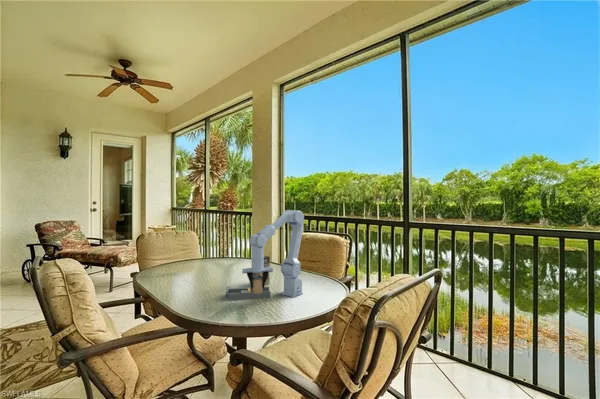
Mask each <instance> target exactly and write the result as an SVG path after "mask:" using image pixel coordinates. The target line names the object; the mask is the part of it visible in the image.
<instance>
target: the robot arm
mask: <svg viewBox="0 0 600 399" xmlns="http://www.w3.org/2000/svg"><path fill="white" fill-rule="evenodd" d="M304 219H305V215H304V214H303V212H302V211H301V210H293V209H292V210H291V209H286V210H285V211H283V212H282V213H281V215H280V216H279V217H278V218H277V219H275V221H273V223H272V224H266V225H264V226H263V228H262V229H260V230H259V231H257V233H255V234H252V235H251V236H250V237H249V240H248V241H249V242H248V243H249V244H250V248H251V267H250V268H249V267H248V268H242V269H241V274H242V275H245V274H246V276H247V278H248V280H249V285H250V288H251V289H253V284H252V273H261V272H263V288H264V287H265V286H266V285H265V282H266V279H267V277H268V272H270V273H274V269H273V267H270V268H268V267H264V256H265V255H264V253H265V252H264V249H265V246H266V244H267V241H269V240H270V239H271V238H272V237H273V236H274V235H275V234H276V231H277V230H278V229H279V228H280V227H282V226H284V225H285V224H286V223H287V224H289V225H290V227H291V228H292V231H291V237H290V242H289V246H288V253H287V256H286V258H285V259H284V260H283V263H282V264H281V266H280V272H281V274H282V276H283V291H280V292H279V293H280V294H281V295H284V296H288V297H290V298H291V297H292V298H295V297H298V296H301V295H303V294H304V293H303V282H302V280H301V279H300V278H299V276H300V275H301V262H300V261H299V259H298V258H299V255H300V254H299V253H300V247H301V242H302V237H303V231H304V221H305V220H304Z"/></svg>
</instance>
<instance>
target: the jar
mask: <svg viewBox="0 0 600 399" xmlns="http://www.w3.org/2000/svg"><path fill="white" fill-rule="evenodd" d="M252 279H253V293H254V294H260V293H262V292H263V277H262V276H254V277H252Z"/></svg>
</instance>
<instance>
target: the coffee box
mask: <svg viewBox="0 0 600 399" xmlns="http://www.w3.org/2000/svg"><path fill="white" fill-rule="evenodd" d="M270 260H271V258H270V256H267V255H264V267H268V268H271V267H270V263H271V262H270ZM270 273H271V272H268V277H267V279H266V282H265V285H264V286H266V285H269V284H270ZM254 276H262V277H263V272H261V273H252V277H254ZM252 284H253V279H252Z"/></svg>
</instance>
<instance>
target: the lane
mask: <svg viewBox="0 0 600 399" xmlns="http://www.w3.org/2000/svg"><path fill="white" fill-rule="evenodd" d="M248 288H250V291H251V292H241V291H242V290H248ZM267 298H269V299H270V298H273V295H272V292H271V290H270V286H264V288H263V292H262V293H260V294H254V293H253V289H251V287H240V288H239V287H237V288H229V286H226V289H225V300H226V301H234V300H235V301H237V300H251V299H252V300H253V299H267Z"/></svg>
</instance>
